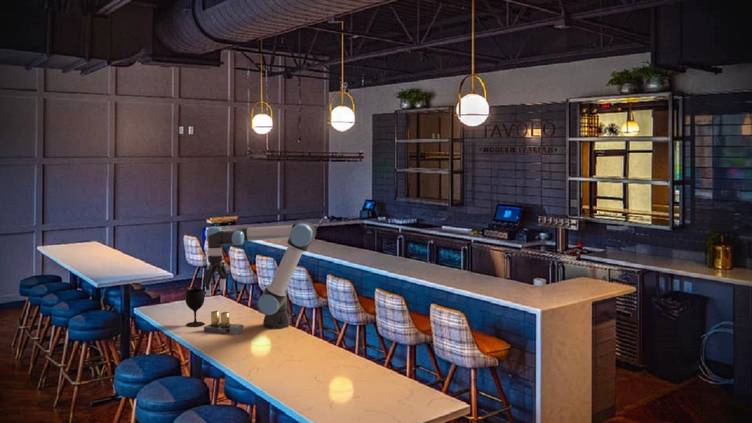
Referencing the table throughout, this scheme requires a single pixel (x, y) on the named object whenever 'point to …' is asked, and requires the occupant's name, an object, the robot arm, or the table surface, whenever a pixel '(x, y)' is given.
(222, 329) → the grey flat frame
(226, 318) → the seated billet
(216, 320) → the loose billet
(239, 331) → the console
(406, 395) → the table surface
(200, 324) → the wine glass
